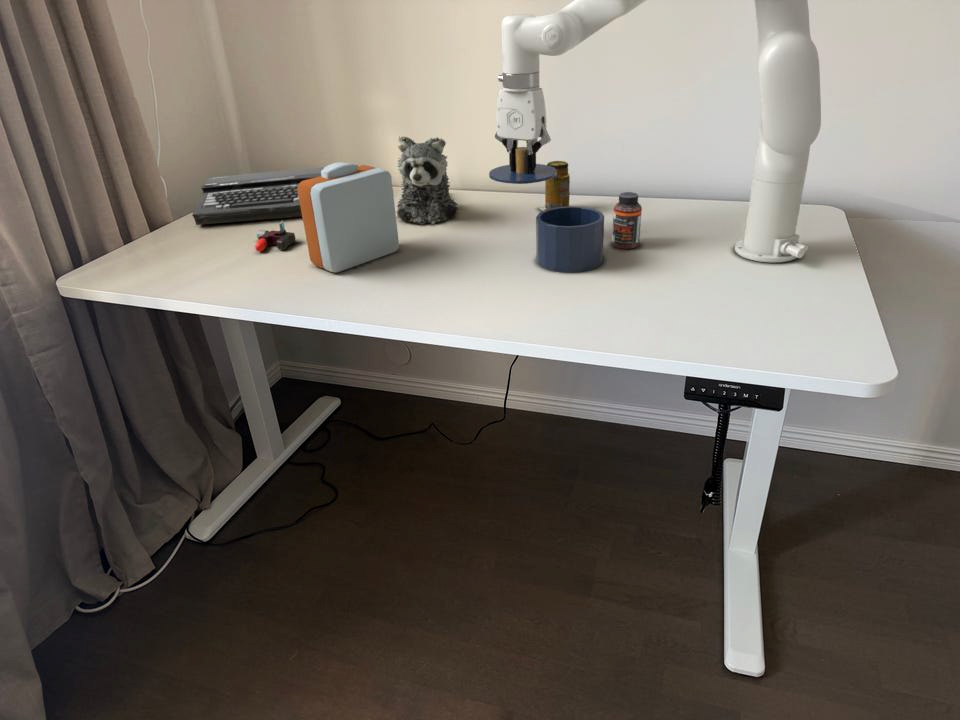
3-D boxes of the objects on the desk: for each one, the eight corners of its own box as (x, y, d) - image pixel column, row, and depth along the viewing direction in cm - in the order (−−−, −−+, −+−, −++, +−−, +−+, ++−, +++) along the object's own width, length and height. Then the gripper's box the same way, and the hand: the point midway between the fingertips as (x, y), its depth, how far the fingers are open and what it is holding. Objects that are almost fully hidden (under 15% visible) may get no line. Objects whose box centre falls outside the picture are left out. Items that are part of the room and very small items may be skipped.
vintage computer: (194, 228, 177) (186, 197, 173) (214, 199, 202) (208, 172, 199) (362, 215, 182) (358, 184, 179) (361, 188, 208) (358, 161, 204)
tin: (615, 263, 143) (617, 218, 139) (559, 277, 138) (560, 231, 134) (578, 244, 154) (578, 202, 150) (525, 257, 149) (524, 214, 144)
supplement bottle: (609, 249, 151) (612, 197, 145) (613, 239, 156) (615, 189, 150) (637, 250, 149) (641, 198, 143) (640, 241, 154) (644, 190, 148)
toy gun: (262, 237, 170) (258, 218, 168) (302, 241, 165) (298, 222, 163) (235, 250, 162) (230, 230, 160) (276, 256, 158) (271, 235, 155)
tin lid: (569, 178, 149) (570, 149, 146) (509, 190, 144) (509, 160, 141) (534, 165, 161) (534, 137, 158) (477, 175, 155) (476, 147, 152)
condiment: (566, 205, 180) (566, 158, 174) (577, 214, 172) (577, 166, 167) (539, 208, 179) (538, 161, 173) (548, 218, 171) (548, 169, 165)
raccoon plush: (403, 233, 167) (393, 143, 156) (387, 198, 194) (378, 120, 183) (464, 225, 169) (459, 137, 159) (441, 192, 196) (434, 114, 186)
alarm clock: (377, 242, 162) (366, 153, 152) (401, 250, 156) (390, 158, 146) (309, 266, 151) (292, 171, 141) (332, 275, 145) (316, 177, 135)
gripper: (478, 82, 144) (482, 171, 153) (547, 85, 136) (547, 179, 145) (497, 77, 149) (499, 163, 158) (565, 80, 141) (564, 170, 150)
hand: (522, 170), depth 152 cm, fingers closed on tin lid, 3 cm apart
